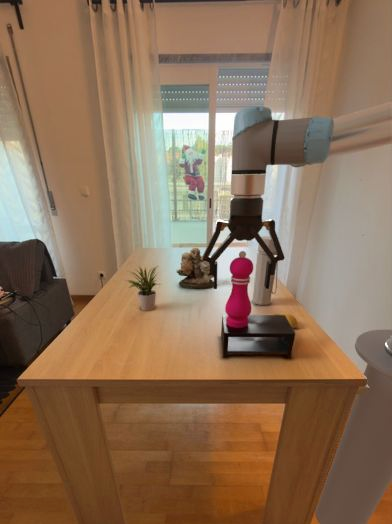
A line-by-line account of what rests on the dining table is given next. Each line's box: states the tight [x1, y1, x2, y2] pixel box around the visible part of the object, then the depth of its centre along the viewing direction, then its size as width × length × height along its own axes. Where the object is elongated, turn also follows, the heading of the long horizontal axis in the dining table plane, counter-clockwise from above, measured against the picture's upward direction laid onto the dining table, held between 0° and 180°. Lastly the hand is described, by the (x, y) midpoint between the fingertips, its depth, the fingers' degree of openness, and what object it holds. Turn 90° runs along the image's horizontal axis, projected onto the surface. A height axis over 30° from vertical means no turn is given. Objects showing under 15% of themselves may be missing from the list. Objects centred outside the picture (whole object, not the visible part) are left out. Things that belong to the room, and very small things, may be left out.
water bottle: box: [252, 235, 279, 306], centre depth 108 cm, size 9×8×25 cm
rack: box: [220, 314, 296, 360], centre depth 83 cm, size 19×12×8 cm, turn 88°
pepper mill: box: [224, 250, 254, 328], centre depth 76 cm, size 7×7×20 cm
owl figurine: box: [176, 247, 214, 290], centre depth 130 cm, size 18×12×17 cm, turn 95°
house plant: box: [124, 265, 162, 311], centre depth 108 cm, size 14×14×16 cm
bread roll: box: [274, 313, 298, 329], centre depth 97 cm, size 8×9×4 cm
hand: (240, 287), depth 75 cm, fingers open, 13 cm apart
